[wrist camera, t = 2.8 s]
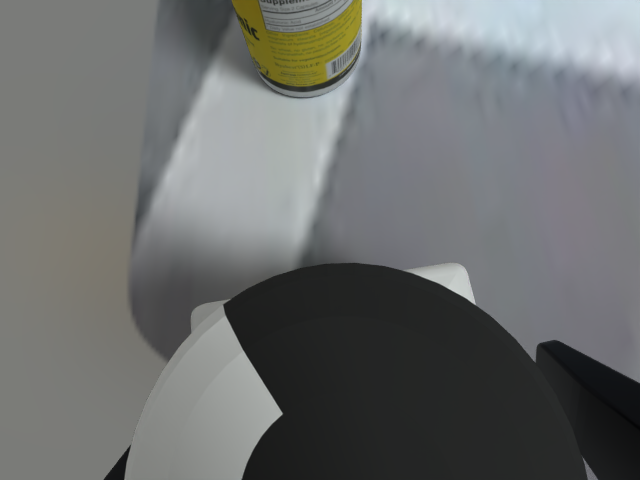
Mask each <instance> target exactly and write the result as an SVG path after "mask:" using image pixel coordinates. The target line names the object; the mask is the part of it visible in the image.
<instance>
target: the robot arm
mask: <svg viewBox="0 0 640 480" xmlns="http://www.w3.org/2000/svg"><path fill="white" fill-rule="evenodd" d="M536 365H537V366H538V367H539V369H540V370H541V372H542V374H543V375H544V377H545V378H546V380H547V381H548V383H549V385H550V386H551V388H552V389H553V391H554V392H555V394H556V395H557V398H558V400H559V402H560V404H561V406H562V408H563V410H564V412H565V414H566V416H567V418H568V420H569V422H570V425H571V427H572V429H573V432H574V435H575V438H576V441H577V444H578V447H579V450H580V452H581V455H582V457H583V458H584V459H585V461H586V462H587V464H588V465H589V467H590V468H591V470H592V471H593V473H594V474H595V476H596V477H597V479H598V480H640V383H638V382H636V381H635V380H633V379H631V378H629V377H627V376H625V375H623V374H621V373H619V372H617V371H615V370H613V369H612V368H610V367H608V366H606V365H604V364H602V363H600V362H598V361H596V360H594V359H592V358H591V357H589V356H587V355H585V354H583V353H581V352H579V351H577V350H575V349H573V348H571V347H569V346H568V345H566V344H564V343H562V342H560V341H557V340H551V341H547V342H543V343H540V344H538V346H537V349H536ZM130 448H131V445H130V446H129V448H128V449H127V451H126V452H125V453H124V454H123V455H122V457H121V458H120V459H119V460H118V462H117V463H116V465H115V466H114V467H113V468H112V470H111V471H110V472H109V473H108V475H107V476H106V477H105V479H104V480H124V478H125V471H126V464H127V459H128V456H129V452H130Z"/></svg>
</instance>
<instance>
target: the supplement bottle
mask: <svg viewBox="0 0 640 480" xmlns="http://www.w3.org/2000/svg"><path fill="white" fill-rule="evenodd" d="M232 3H233V6H234V9H235V12H236V14H237V18H238V20H239V23H240V26H241V29H242V31H243V34H244V37H245V40H246V43H247V46H248V49H249V52H250V55H251V57H252V60H253V63H254V65H255V68H256V70H257V72H258V73H259V75H260V76H261V78H262V79H263V80H264V81H265V83H266V84H268V85H269V86H270V87H271V88H273V89H274V90H276V91H278V92H280V93H282V94H285V95H288V96H294V97H313V96H318V95H322V94H325V93H328V92H330V91H332V90H334V89H335V88H337V87H339V86H340V85H341V84H343V83H344V82H345V81H346V80H347V79H348V78H349V76H350V75H351V74H352V72H353V71H354V69H355V68H356V65H357V63H358V60H359V57H360V51H361V18H362V17H361V16H362V0H232Z"/></svg>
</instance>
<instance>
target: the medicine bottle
mask: <svg viewBox="0 0 640 480" xmlns="http://www.w3.org/2000/svg"><path fill="white" fill-rule="evenodd" d="M124 480H588V479H587V474H586V469H585V464H584V461H583V458H582V455H581V452H580V450H579V447H578V444H577V441H576V438H575V435H574V432H573V429H572V427H571V425H570V422H569V420H568V418H567V416H566V414H565V412H564V410H563V408H562V406H561V404H560V402H559V400H558V398H557V395H556V394H555V392H554V391H553V389H552V388H551V386H550V385H549V383H548V381H547V380H546V378H545V377H544V375H543V374H542V372H541V370H540V369H539V367H538V366H537V365H536V363H535V362H534V361H533V360H532V359H531V357H530V356H529V355H528V354H527V353H526V351H525V350H524V349H523V348H522V346H521V345H520V344H519V343H518V342H517V340H516V339H515V338H514V337H512V336H511V335H510V334H509V333H508V332H507V331H506V330H505V329H504V328H503V327H502V326H501V325H500V324H499V323H498V322H497V321H496V320H494V319H493V318H492V317H491V316H490V315H488V314H487V313H486V312H484V311H483V310H481V309H480V308H479V307H477V306H476V304H475V300H474V296H473V292H472V289H471V285H470V281H469V277H468V273H467V272H466V270H465V268H464V267H463V266H461V265H460V264H458V263H444V264H438V265H432V266H426V267H420V268H414V269H408V270H398V269H394V268H390V267H385V266H379V265H369V264H360V263H340V264H323V265H318V266H312V267H306V268H300V269H296V270H293V271H290V272H287V273H284V274H280V275H277V276H274V277H271V278H269V279H267V280H265V281H263V282H261V283H259V284H256V285H254V286H252V287H250V288H248V289H246V290H245V291H243V292H241V293H240V294H238V295H237V296H235V297H234V298H232V299H228V300H222V301H216V302H210V303H204V304H202V305H200V306H198V307H196V308H195V309H194V310H193V312H192V314H191V334H190V335H189V336H188V338H187V339H186V340H185V341H184V342H183V343H182V344H181V345H180V347H179V348H178V349H177V351H176V352H175V354H174V355H173V356H172V358H171V359H170V361H169V362H168V363H167V365H166V366H165V368H164V369H163V371H162V372H161V374H160V376H159V378H158V380H157V382H156V384H155V385H154V387H153V389H152V391H151V393H150V395H149V397H148V398H147V401H146V403H145V406H144V408H143V411H142V414H141V416H140V419H139V422H138V424H137V427H136V429H135V432H134V436H133V440H132V444H131V448H130V452H129V456H128V459H127V464H126V471H125V478H124Z"/></svg>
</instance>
